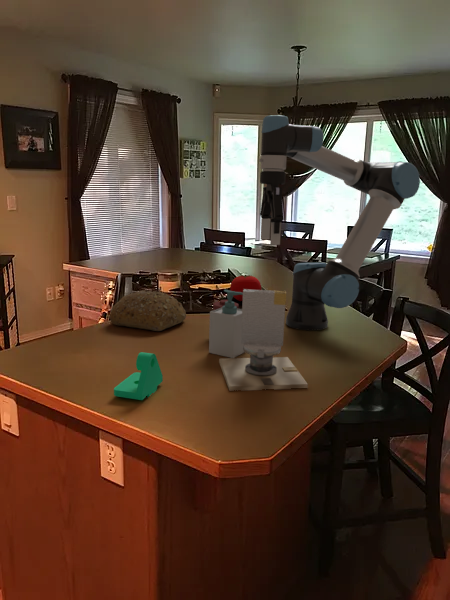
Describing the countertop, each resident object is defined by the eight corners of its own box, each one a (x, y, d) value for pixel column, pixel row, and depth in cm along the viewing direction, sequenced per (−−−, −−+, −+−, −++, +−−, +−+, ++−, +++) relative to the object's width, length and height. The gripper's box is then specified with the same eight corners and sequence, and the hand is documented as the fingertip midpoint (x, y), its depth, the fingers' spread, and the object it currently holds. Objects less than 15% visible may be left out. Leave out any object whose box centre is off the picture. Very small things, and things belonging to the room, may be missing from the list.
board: (287, 360, 146) (287, 356, 146) (307, 388, 127) (307, 382, 127) (219, 362, 144) (219, 357, 143) (229, 390, 124) (229, 385, 124)
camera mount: (135, 381, 129) (134, 343, 127) (162, 385, 127) (162, 346, 125) (112, 399, 118) (111, 358, 116) (142, 404, 116) (141, 362, 114)
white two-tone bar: (243, 341, 141) (245, 285, 137) (283, 343, 140) (286, 287, 136) (238, 356, 128) (241, 295, 124) (282, 359, 127) (286, 298, 123)
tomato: (261, 305, 213) (263, 277, 210) (229, 304, 213) (230, 277, 210) (260, 298, 225) (261, 272, 222) (229, 297, 225) (230, 271, 222)
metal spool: (272, 364, 140) (273, 345, 139) (279, 375, 132) (280, 356, 130) (242, 365, 139) (243, 346, 137) (248, 376, 131) (249, 356, 129)
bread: (103, 326, 176) (102, 293, 173) (135, 313, 195) (135, 282, 192) (164, 336, 167) (164, 301, 164) (192, 321, 186) (193, 289, 183)
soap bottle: (233, 358, 147) (235, 295, 143) (208, 352, 152) (209, 291, 147) (248, 351, 154) (250, 290, 150) (223, 345, 159) (225, 286, 154)
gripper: (252, 170, 161) (250, 237, 166) (270, 169, 137) (267, 247, 142) (275, 171, 162) (272, 237, 167) (297, 170, 138) (292, 247, 143)
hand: (269, 242), depth 155 cm, fingers open, 13 cm apart
